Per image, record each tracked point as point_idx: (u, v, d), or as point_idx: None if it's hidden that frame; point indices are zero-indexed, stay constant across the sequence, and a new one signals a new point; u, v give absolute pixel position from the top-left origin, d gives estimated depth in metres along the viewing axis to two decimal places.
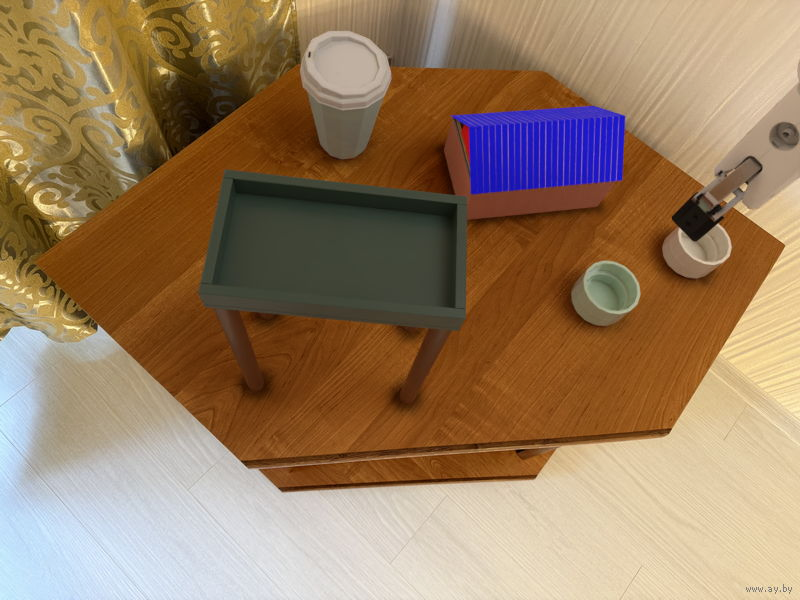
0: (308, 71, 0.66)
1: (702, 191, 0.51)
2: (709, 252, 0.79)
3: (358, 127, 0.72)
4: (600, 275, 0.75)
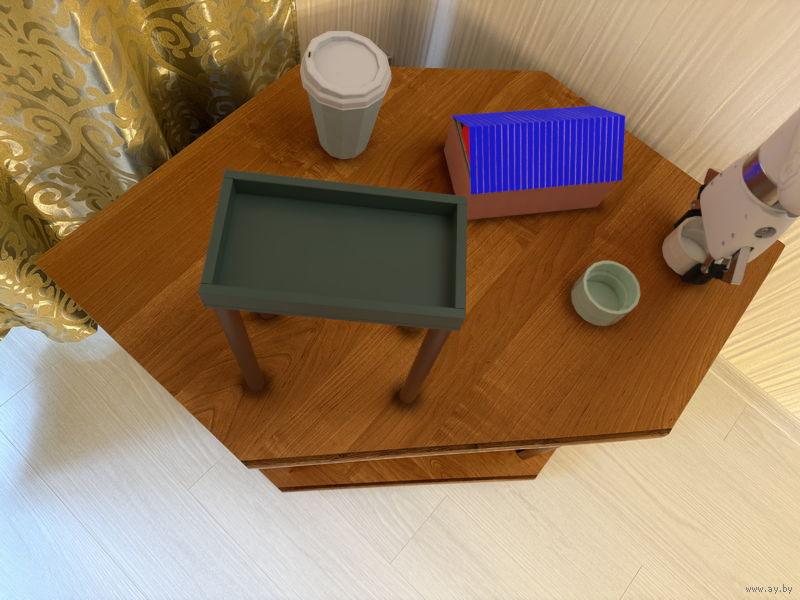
0: (308, 71, 0.66)
1: (708, 267, 0.72)
2: None
3: (358, 127, 0.72)
4: (600, 275, 0.75)
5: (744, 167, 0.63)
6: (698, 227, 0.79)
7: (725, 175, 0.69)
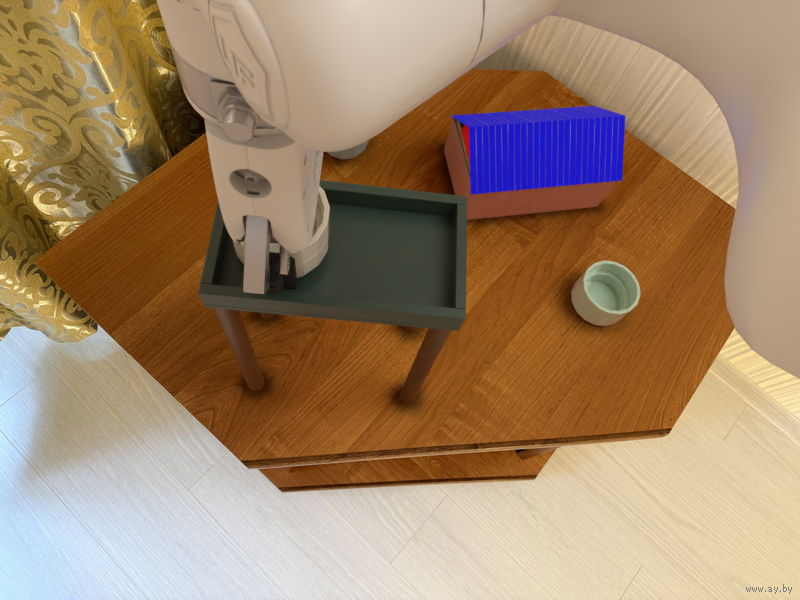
0: None
1: None
2: None
3: None
4: (600, 275, 0.75)
5: None
6: None
7: None
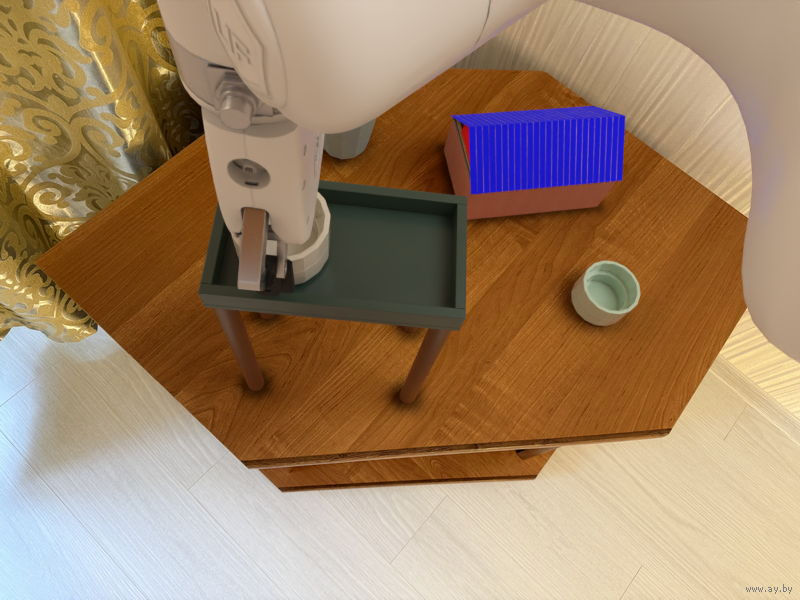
0: None
1: None
2: None
3: (358, 127, 0.72)
4: (600, 275, 0.75)
5: None
6: None
7: None
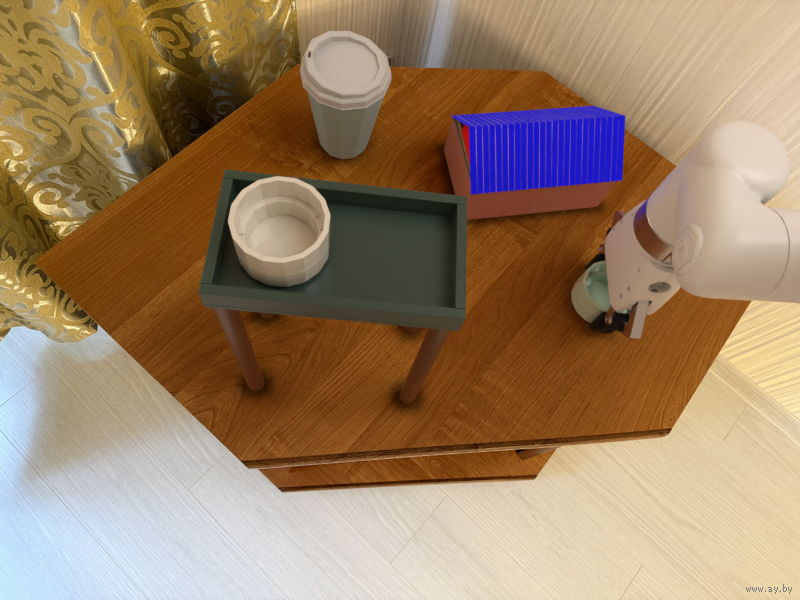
0: (308, 71, 0.66)
1: (611, 318, 0.68)
2: None
3: (358, 127, 0.72)
4: (600, 275, 0.75)
5: (635, 218, 0.59)
6: (297, 197, 0.45)
7: (624, 223, 0.64)
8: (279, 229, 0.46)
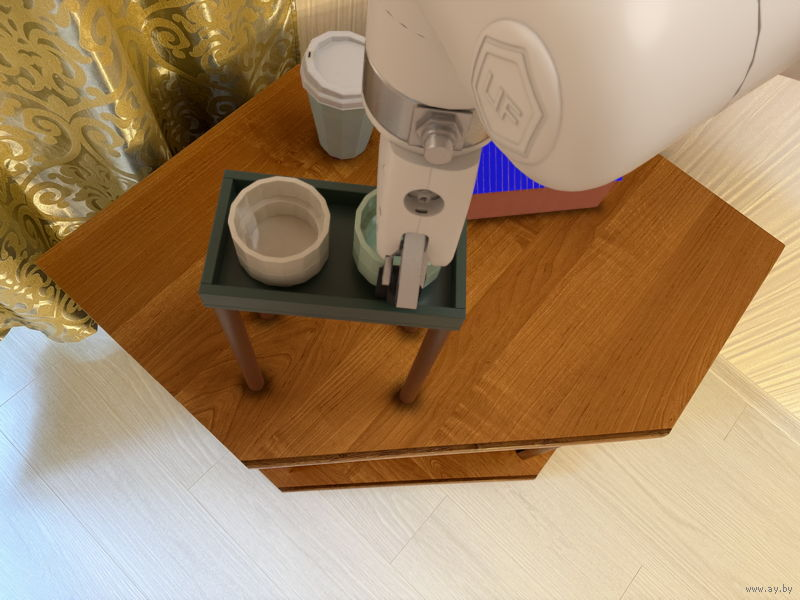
0: (308, 71, 0.66)
1: (385, 275, 0.38)
2: None
3: (358, 127, 0.72)
4: None
5: None
6: (297, 197, 0.45)
7: None
8: (279, 229, 0.46)
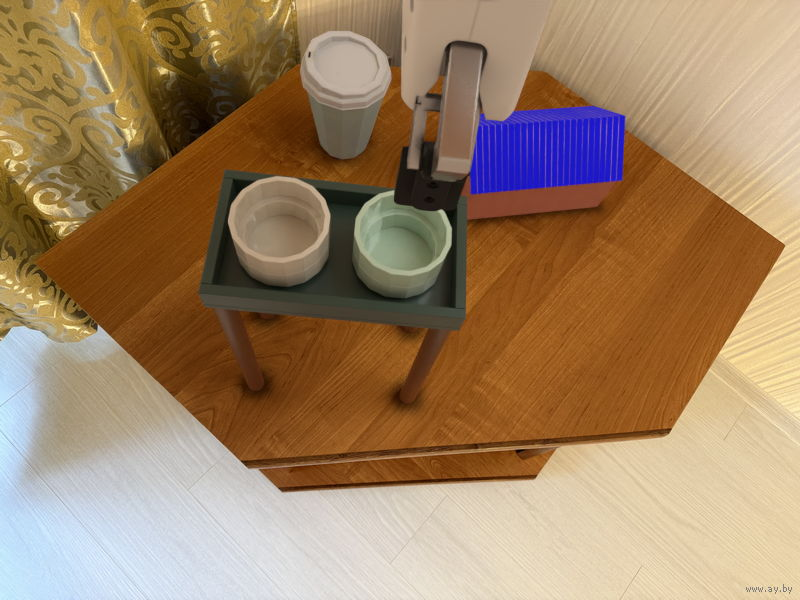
0: (308, 71, 0.66)
1: (414, 146, 0.25)
2: None
3: (358, 127, 0.72)
4: (399, 217, 0.46)
5: None
6: (297, 197, 0.45)
7: None
8: (279, 229, 0.46)
